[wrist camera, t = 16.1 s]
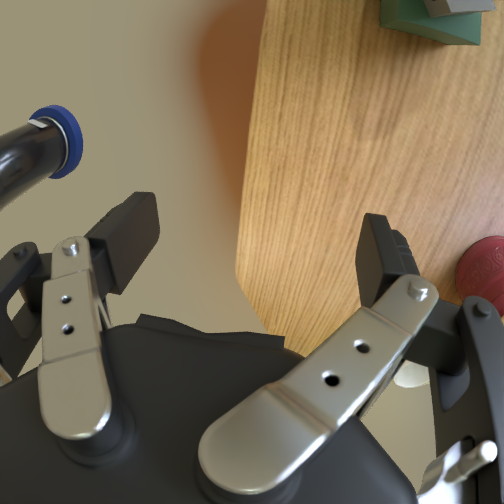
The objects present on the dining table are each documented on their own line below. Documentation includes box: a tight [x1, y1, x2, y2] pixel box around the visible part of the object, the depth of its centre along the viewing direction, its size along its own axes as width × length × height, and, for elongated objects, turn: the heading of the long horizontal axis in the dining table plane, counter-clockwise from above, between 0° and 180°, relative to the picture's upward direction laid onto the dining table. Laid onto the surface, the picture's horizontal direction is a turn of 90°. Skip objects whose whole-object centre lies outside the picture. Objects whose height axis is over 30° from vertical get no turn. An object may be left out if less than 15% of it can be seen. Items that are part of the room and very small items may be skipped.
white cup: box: [393, 360, 430, 388], centre depth 47 cm, size 8×8×10 cm
